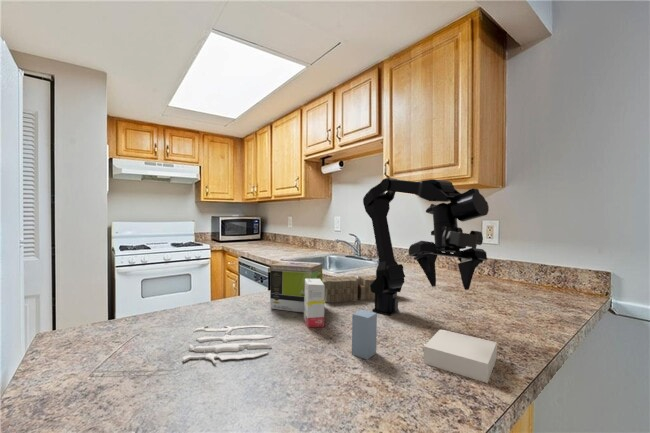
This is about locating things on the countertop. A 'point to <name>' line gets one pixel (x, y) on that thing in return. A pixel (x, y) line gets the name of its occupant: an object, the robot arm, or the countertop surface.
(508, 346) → the countertop surface
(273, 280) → the tea box
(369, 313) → the blue pillar
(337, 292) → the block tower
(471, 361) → the base block
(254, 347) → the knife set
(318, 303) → the ink box
